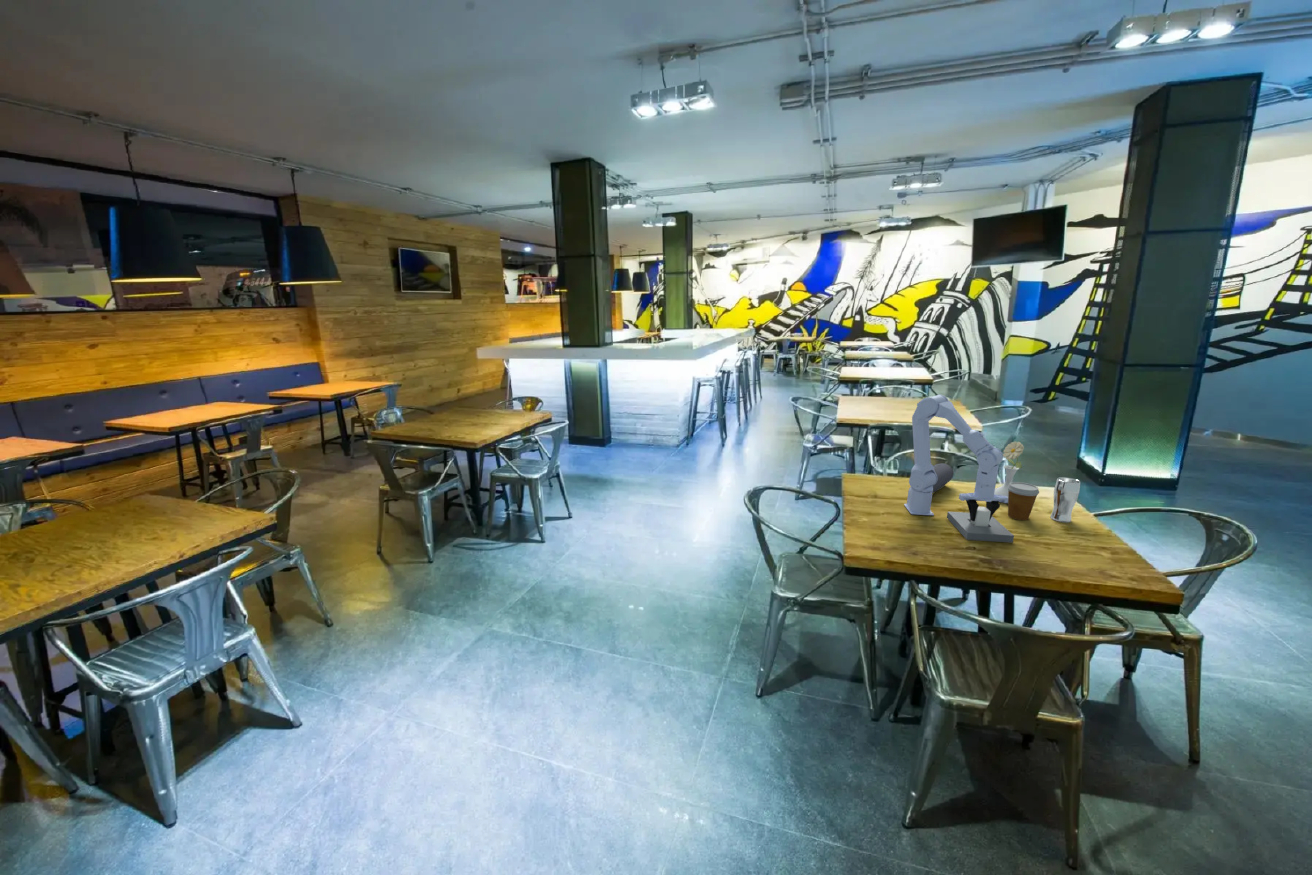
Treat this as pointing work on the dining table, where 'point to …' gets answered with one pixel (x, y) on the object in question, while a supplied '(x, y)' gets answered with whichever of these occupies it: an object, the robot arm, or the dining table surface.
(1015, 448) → the flower in vase
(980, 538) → the socket plate
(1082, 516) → the dining table surface
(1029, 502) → the disposable coffee cup
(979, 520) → the plug block
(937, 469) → the bluetooth speaker
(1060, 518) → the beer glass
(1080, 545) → the dining table surface
